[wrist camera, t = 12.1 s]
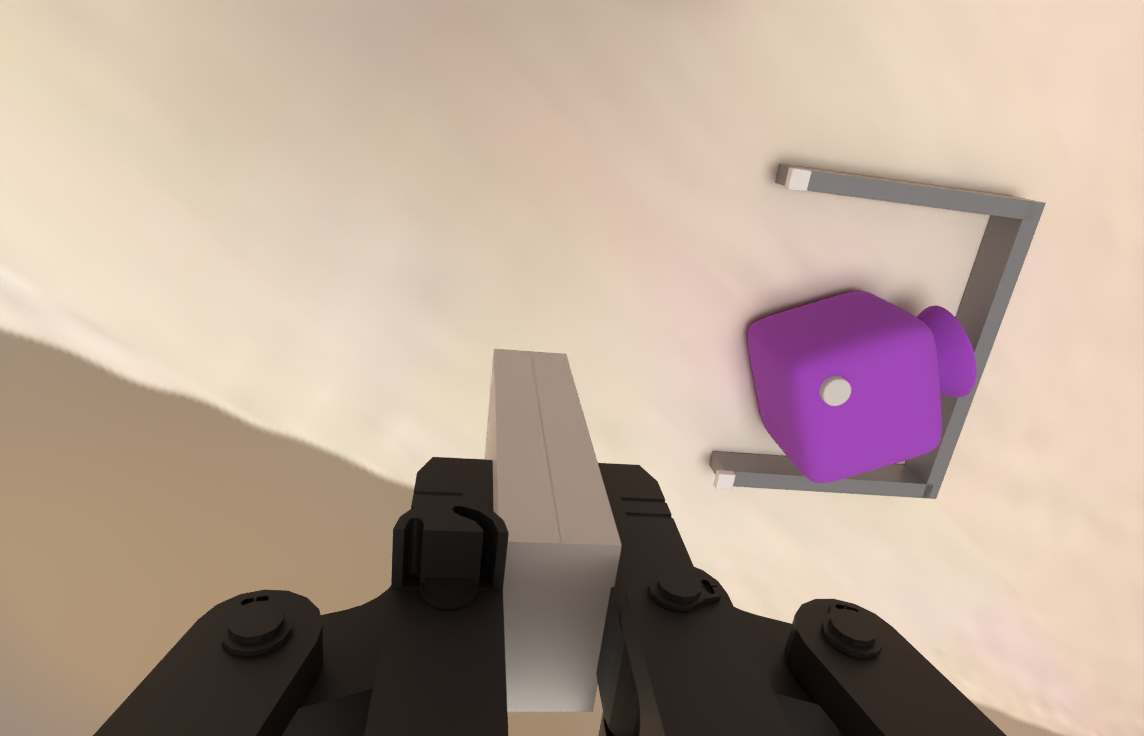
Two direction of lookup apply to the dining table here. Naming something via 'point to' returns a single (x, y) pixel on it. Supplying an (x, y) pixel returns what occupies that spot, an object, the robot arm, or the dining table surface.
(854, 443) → the toy camera
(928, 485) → the gray bracket frame
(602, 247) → the dining table surface
